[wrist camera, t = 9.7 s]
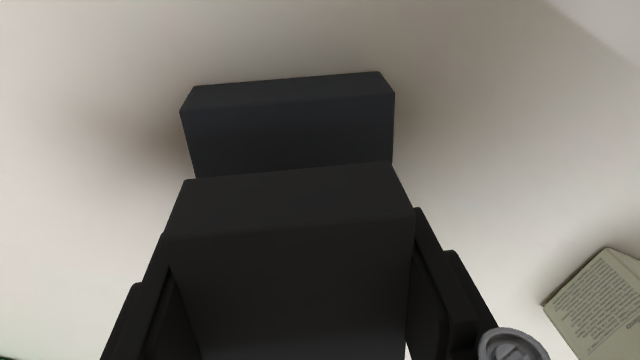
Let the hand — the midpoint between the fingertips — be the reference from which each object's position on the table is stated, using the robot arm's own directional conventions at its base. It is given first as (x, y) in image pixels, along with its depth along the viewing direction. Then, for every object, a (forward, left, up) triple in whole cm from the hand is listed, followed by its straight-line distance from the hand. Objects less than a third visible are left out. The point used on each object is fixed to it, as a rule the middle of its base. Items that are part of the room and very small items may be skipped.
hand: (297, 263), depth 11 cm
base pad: (0, 0, -6) cm, 6 cm away
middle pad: (0, 0, -1) cm, 1 cm away
